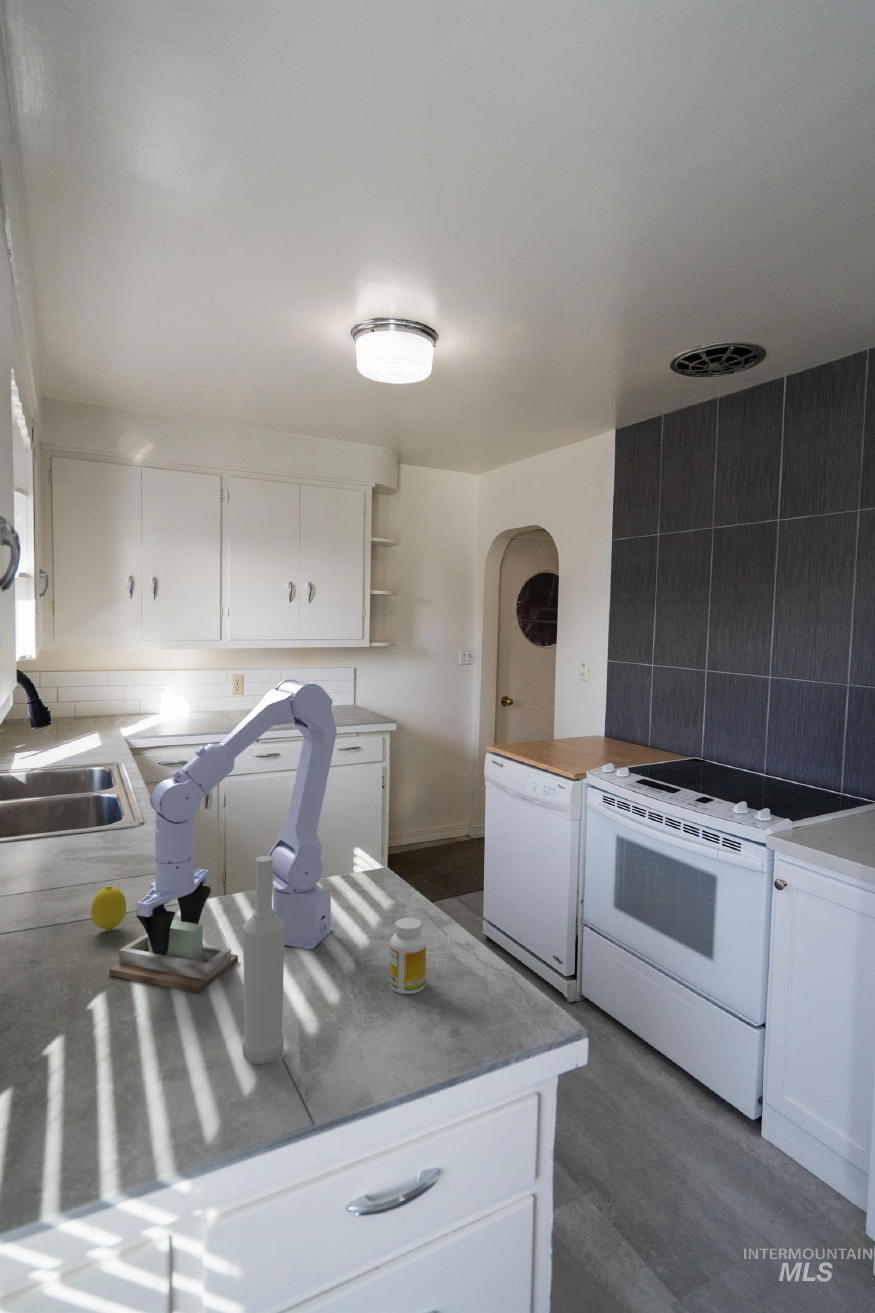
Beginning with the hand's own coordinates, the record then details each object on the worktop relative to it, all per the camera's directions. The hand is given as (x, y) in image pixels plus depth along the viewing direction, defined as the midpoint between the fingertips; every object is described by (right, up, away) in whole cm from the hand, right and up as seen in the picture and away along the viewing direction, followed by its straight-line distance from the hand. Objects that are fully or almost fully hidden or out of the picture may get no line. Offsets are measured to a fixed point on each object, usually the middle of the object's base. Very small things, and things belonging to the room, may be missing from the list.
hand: (175, 943), depth 108 cm
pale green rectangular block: (0, -3, 0) cm, 3 cm away
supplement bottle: (+36, -5, -3) cm, 37 cm away
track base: (0, -4, 0) cm, 4 cm away
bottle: (+19, -6, -20) cm, 28 cm away
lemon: (-16, -3, +12) cm, 21 cm away
